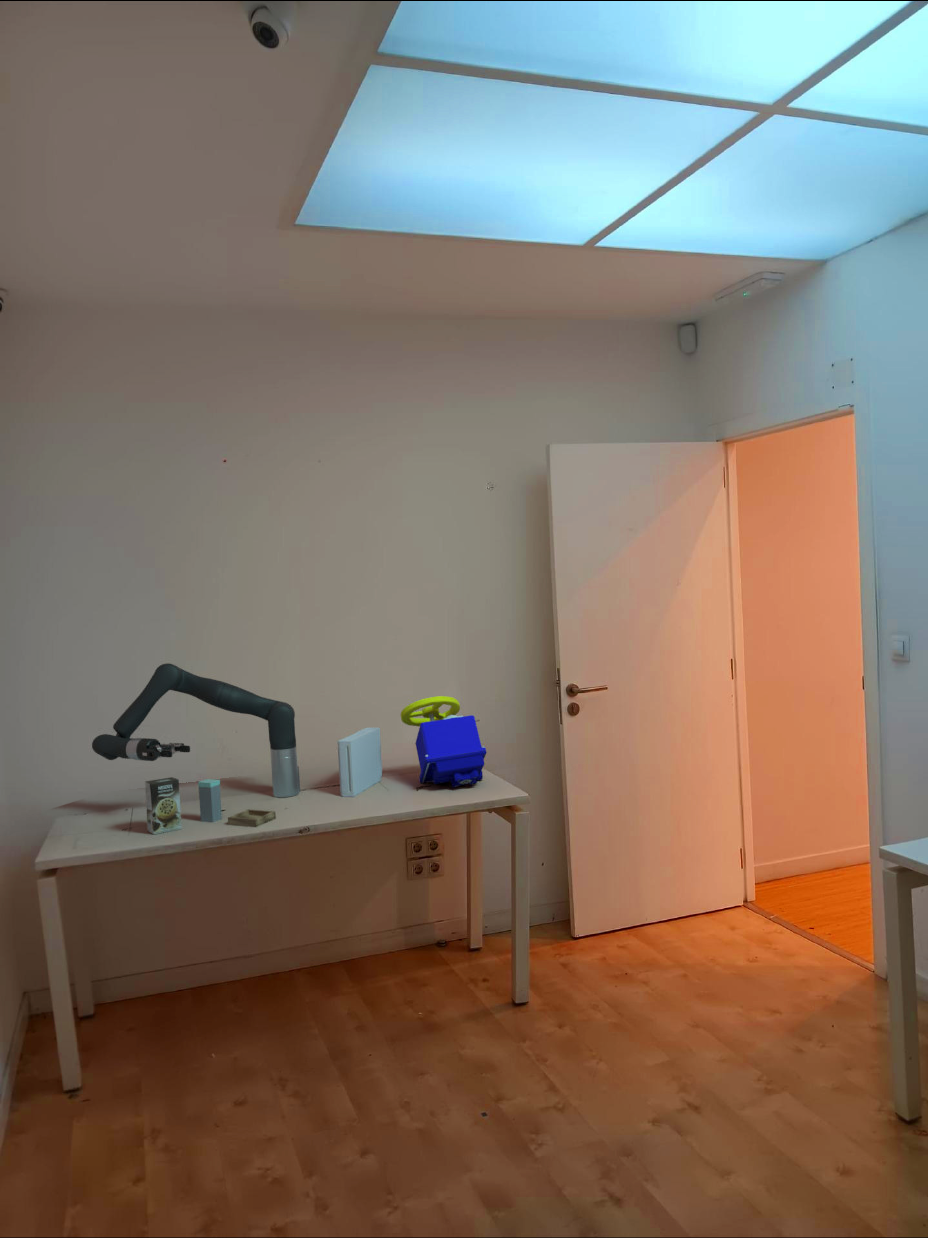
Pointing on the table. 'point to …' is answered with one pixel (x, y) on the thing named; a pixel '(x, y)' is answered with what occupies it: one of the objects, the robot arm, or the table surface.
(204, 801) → the teal box
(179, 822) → the coffee box
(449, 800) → the table surface
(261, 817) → the tray
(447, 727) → the valve actuator
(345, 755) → the game console
